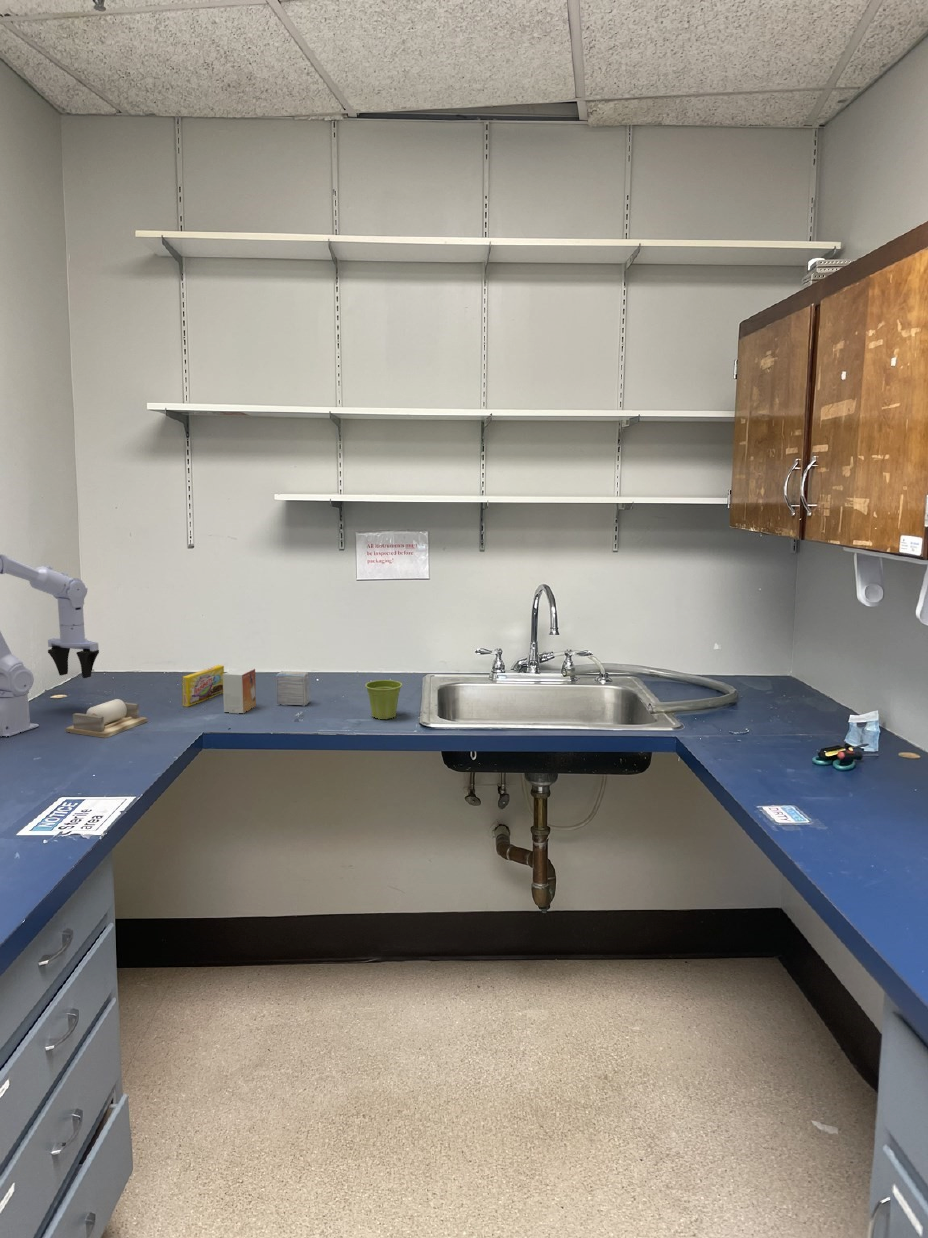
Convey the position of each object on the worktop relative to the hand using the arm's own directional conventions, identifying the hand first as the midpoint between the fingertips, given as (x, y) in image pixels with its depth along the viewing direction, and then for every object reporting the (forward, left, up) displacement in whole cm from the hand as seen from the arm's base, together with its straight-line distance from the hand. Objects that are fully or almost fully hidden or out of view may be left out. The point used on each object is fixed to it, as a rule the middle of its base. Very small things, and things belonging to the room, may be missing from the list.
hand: (75, 676), depth 211 cm
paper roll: (-8, -17, -8) cm, 21 cm away
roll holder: (-8, -17, -9) cm, 21 cm away
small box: (+17, -38, -10) cm, 43 cm away
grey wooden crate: (+27, -48, -10) cm, 56 cm away
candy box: (+22, -23, -10) cm, 33 cm away
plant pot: (+25, -76, -10) cm, 81 cm away
